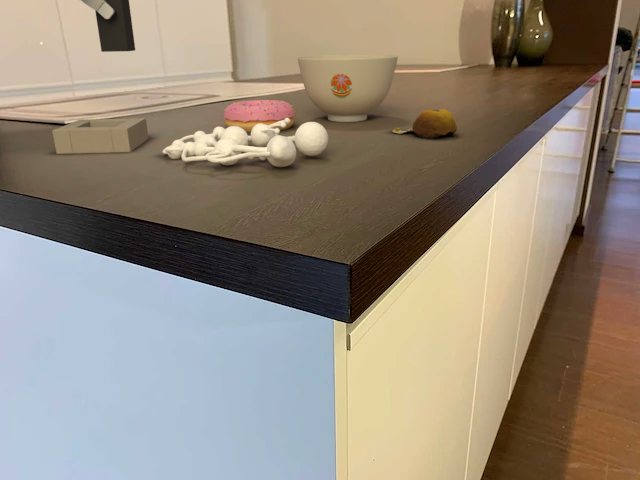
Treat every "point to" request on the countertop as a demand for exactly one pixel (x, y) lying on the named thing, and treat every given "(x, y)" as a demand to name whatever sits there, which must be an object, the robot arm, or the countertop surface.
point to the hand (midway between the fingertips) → (118, 16)
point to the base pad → (100, 135)
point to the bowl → (347, 83)
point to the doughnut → (258, 113)
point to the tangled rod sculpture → (235, 141)
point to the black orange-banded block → (116, 28)
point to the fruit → (432, 124)
